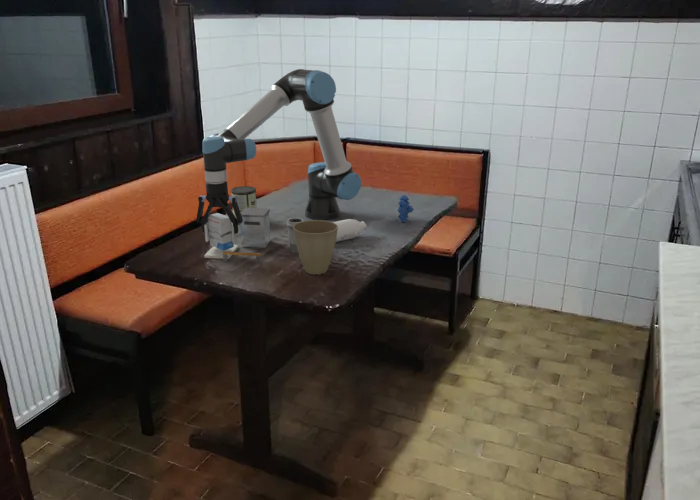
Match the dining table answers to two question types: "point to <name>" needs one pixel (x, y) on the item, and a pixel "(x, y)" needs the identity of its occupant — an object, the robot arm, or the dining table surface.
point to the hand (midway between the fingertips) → (221, 241)
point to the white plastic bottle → (349, 229)
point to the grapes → (404, 208)
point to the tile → (219, 252)
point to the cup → (291, 235)
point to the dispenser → (253, 231)
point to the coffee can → (245, 197)
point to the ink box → (220, 231)
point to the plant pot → (315, 244)
